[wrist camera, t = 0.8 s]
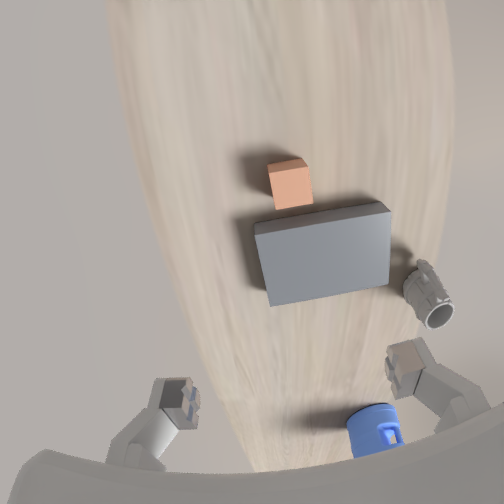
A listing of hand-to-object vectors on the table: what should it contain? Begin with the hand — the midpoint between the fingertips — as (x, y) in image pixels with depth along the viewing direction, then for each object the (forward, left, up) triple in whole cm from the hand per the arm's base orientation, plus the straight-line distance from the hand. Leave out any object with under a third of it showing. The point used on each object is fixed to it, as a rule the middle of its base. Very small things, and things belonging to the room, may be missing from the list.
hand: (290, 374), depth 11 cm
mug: (+25, +25, -34) cm, 49 cm away
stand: (+15, +7, -34) cm, 38 cm away
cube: (+3, +3, -34) cm, 35 cm away
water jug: (+76, +20, -34) cm, 86 cm away
